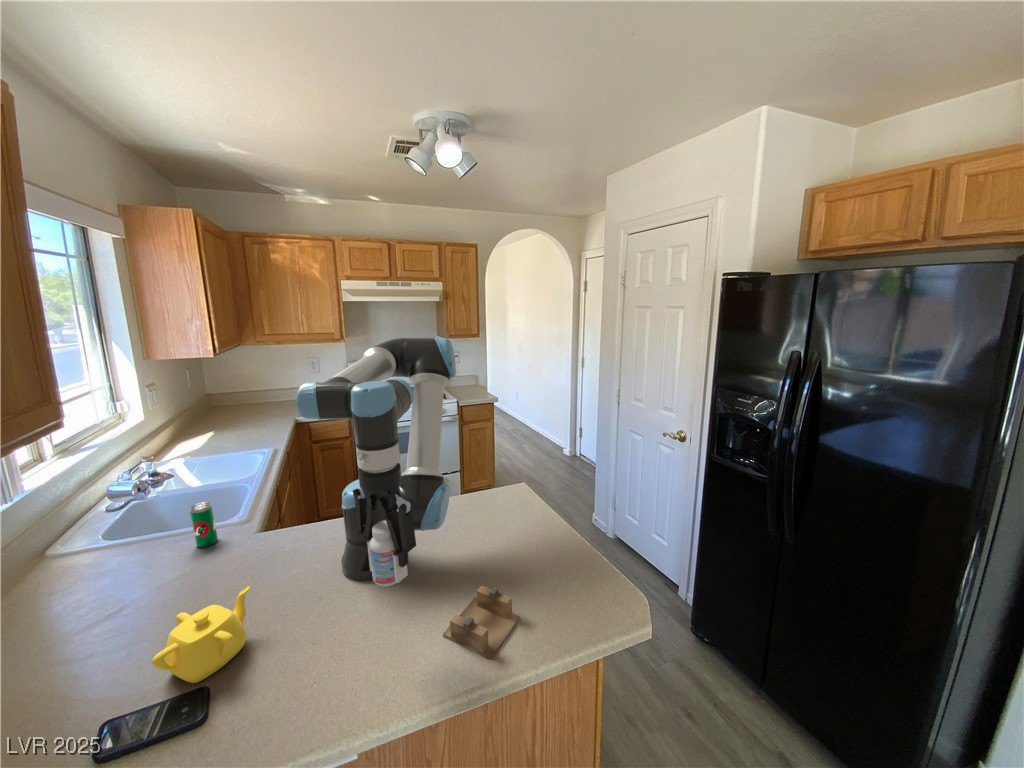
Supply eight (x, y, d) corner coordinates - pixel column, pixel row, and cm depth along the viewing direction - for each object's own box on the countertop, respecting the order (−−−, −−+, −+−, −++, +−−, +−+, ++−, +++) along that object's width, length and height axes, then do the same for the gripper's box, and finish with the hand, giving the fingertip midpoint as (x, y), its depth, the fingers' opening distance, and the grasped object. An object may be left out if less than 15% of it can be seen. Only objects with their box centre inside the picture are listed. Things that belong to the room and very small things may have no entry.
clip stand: (442, 636, 85) (441, 613, 84) (475, 599, 95) (474, 578, 94) (491, 660, 79) (490, 636, 78) (520, 618, 90) (520, 596, 88)
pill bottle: (375, 592, 77) (370, 539, 74) (370, 572, 82) (365, 523, 79) (407, 581, 79) (403, 530, 77) (400, 563, 85) (396, 515, 82)
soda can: (221, 541, 119) (214, 504, 116) (201, 550, 114) (193, 512, 112) (213, 536, 121) (206, 499, 119) (193, 544, 117) (185, 507, 114)
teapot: (186, 639, 85) (177, 597, 83) (257, 623, 89) (249, 582, 87) (155, 700, 72) (143, 652, 70) (239, 677, 76) (230, 631, 74)
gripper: (328, 462, 77) (340, 568, 82) (403, 484, 68) (411, 602, 73) (359, 448, 83) (369, 548, 88) (432, 467, 74) (438, 577, 79)
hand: (388, 572), depth 81 cm, fingers closed on pill bottle, 6 cm apart
